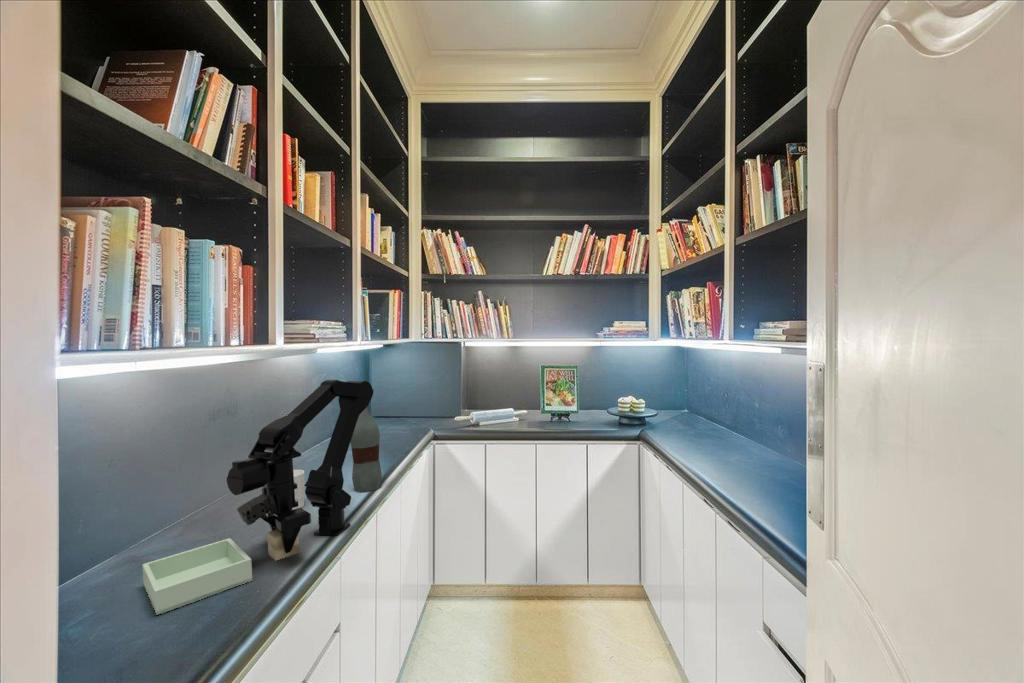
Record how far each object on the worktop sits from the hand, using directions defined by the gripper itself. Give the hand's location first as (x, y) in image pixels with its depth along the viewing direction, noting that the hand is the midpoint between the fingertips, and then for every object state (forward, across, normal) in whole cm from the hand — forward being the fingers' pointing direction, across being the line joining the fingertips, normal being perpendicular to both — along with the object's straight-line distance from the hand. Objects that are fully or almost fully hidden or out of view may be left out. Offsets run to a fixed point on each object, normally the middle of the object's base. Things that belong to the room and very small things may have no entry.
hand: (283, 549), depth 107 cm
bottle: (+1, -28, +35) cm, 45 cm away
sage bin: (+1, 0, -17) cm, 17 cm away
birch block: (+1, 0, 0) cm, 1 cm away
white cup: (+1, -30, +12) cm, 32 cm away
